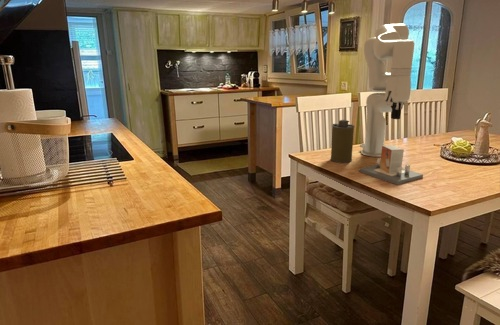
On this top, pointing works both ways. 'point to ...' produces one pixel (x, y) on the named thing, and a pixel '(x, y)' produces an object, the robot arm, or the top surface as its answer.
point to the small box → (391, 158)
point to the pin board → (390, 175)
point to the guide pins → (399, 169)
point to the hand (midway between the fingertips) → (395, 118)
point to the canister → (342, 142)
